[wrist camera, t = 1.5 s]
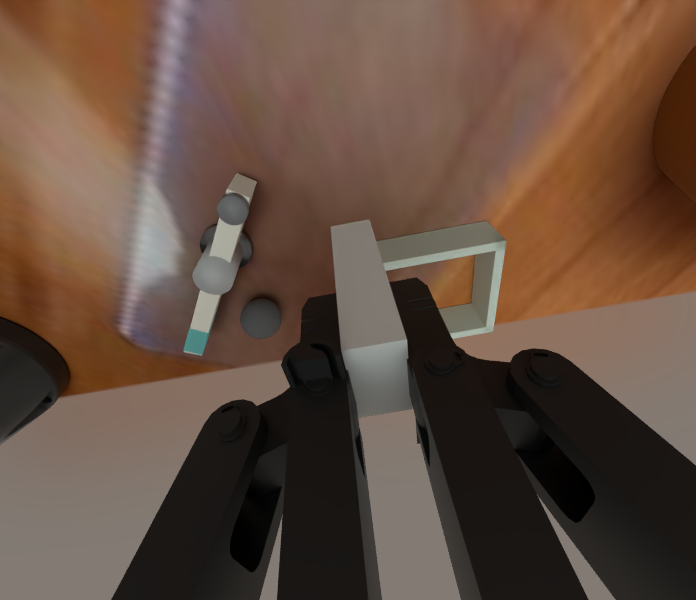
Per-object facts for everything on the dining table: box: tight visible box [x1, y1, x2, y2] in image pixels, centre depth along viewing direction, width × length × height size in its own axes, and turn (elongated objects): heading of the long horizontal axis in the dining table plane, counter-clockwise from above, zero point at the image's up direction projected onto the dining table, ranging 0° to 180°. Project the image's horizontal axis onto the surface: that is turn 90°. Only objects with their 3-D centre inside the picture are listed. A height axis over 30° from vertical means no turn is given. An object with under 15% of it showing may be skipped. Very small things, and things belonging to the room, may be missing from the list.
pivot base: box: [200, 223, 253, 269], centre depth 30 cm, size 4×4×1 cm
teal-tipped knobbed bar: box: [184, 173, 257, 356], centre depth 28 cm, size 3×17×5 cm, turn 154°
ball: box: [240, 299, 281, 339], centre depth 33 cm, size 4×4×4 cm
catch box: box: [376, 221, 506, 339], centre depth 33 cm, size 11×11×4 cm
